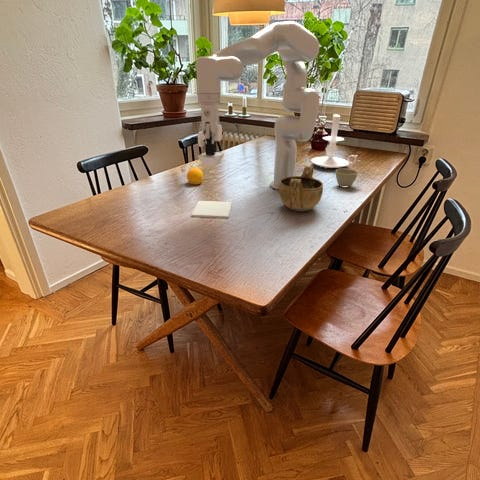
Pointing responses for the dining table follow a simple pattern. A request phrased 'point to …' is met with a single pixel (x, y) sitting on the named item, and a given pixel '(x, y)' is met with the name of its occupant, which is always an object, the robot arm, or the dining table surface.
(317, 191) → the tan round basket
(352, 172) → the flower pot
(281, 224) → the dining table surface
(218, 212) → the cream board
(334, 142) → the candlestick
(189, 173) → the apple
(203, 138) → the figurine
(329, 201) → the dining table surface
